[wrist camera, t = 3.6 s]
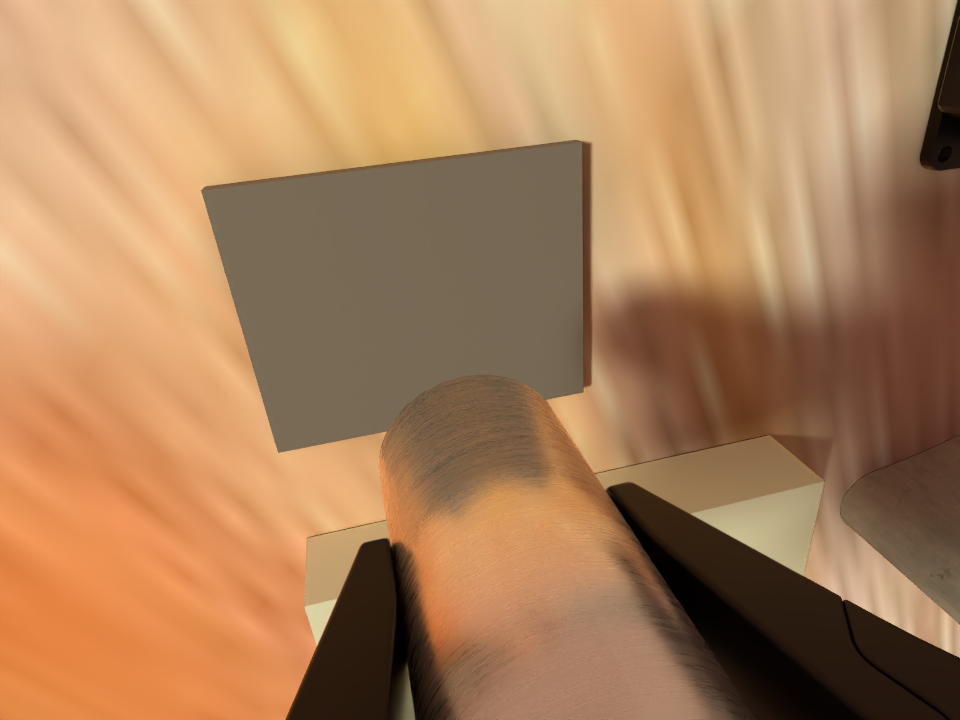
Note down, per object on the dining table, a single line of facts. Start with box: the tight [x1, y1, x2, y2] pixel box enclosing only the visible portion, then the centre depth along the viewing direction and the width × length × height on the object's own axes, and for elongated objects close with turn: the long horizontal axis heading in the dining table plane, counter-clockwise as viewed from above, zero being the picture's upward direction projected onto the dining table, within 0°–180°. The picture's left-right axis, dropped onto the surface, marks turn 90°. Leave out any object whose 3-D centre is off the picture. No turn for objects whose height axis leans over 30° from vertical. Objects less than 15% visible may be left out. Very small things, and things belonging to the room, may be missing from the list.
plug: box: [379, 374, 756, 720], centre depth 8 cm, size 3×3×8 cm
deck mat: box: [201, 140, 583, 453], centre depth 18 cm, size 10×8×1 cm
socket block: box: [304, 435, 825, 645], centre depth 24 cm, size 18×14×3 cm
